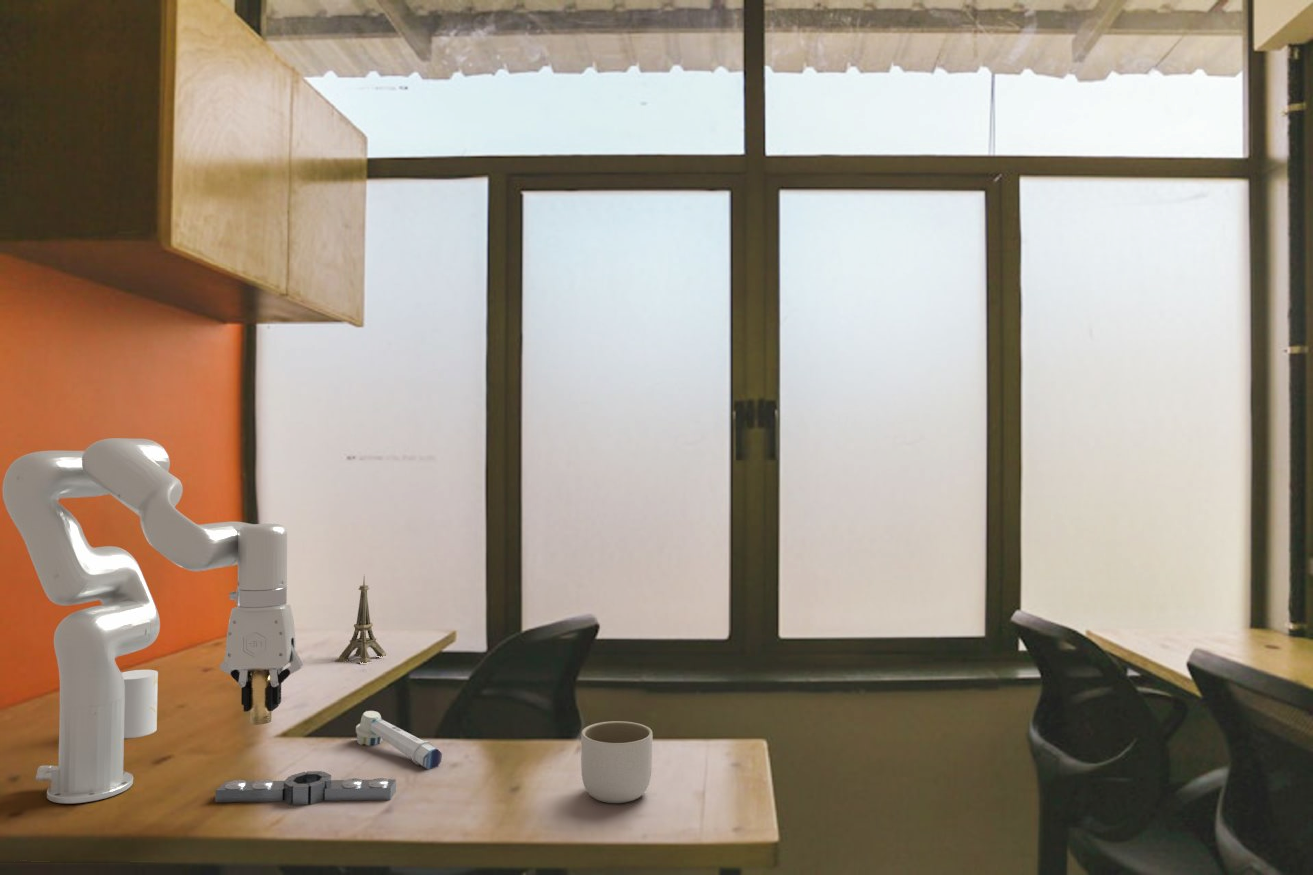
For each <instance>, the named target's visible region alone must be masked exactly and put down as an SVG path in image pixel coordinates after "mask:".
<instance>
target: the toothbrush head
mask: <svg viewBox="0 0 1313 875" xmlns="http://www.w3.org/2000/svg"><path fill="white" fill-rule="evenodd" d="M355 733H356V740H357V743H358V744H359V745H360V746H363V745H365V746H368V747H369V746H377V745H380V744H381V743H382V742H383V741H385V742H386V743H387V744H389V745H391V746H392V747H393V748H395V749H397V750H398V751H399V752H401V753H403V755H405V756H407V757H408V758H410V759H411V761H412V762H413V763H414V764H415V765H417V766H419V765H420V766H421V767H423V768H425V769H427V770H431V769H434V768H437V767H439V765H440V764H441V762H442V760H443V759H442V757H443V752H441V751H440V750H439V749H438V748H436V747H435V746H434V745H433V744H432V743H431V742H430V741H428V740H422V739H421V738H418V737H417V736H415V735H413V734H411V733H409V732H407V731H405V730H404V729H401V728H400V727H397V726H396V725H394V724H391V723H390V722H388V721H386V720H384V719H383V718H382V716H381V714H380V712H378V711H374V710H366V711H365V712H363V713H362V715H361V719H360V723H358V724H357V725H356V726H355ZM381 741H382V742H381Z"/></svg>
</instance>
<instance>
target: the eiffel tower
mask: <svg viewBox="0 0 1313 875" xmlns="http://www.w3.org/2000/svg"><path fill="white" fill-rule="evenodd" d="M365 581H366V580H365V575H363V583H362V585H359V588H358V590H359V591H360V594H359V595H360V596H359V603H358V611H357V615H356V617H357V618H356V623H355V624H353V628H354V631H353V633H352V634H353V635H352V637H351V639H349V644H348V645H347V646H346V647H345V649H344V650H343V651H342V652H341V654H340V655H339V657H338V658H337V659H335V660H334V662H336V663H346V662H348V661H347V660H349V661H350V658H349V657H350V656H351V654H352V653H353V651H355V650H356V651H355V653H354V654H353V655H360V656H359V657H360V659H359V662H361V663H362V662H363V663H367V662H370V661H371V658H370V655H369V652H368V649H369V648H371V649H372V651H373V652H374V653H375V655H376V656H380V657H381V656H382V657H383V656H386V655H387V652H386V651H385V650H384V649H383V648H382V646H381V645H380V644H379V643H378V642H377V637H375V635H374V633H373V630H372V627H373V626H374V624H373V622H371V618H370V610H369V609H370V608H369V600H368V590H370V588H369V585H366V583H365ZM359 632H360V633H359ZM367 634H368V637H367ZM345 661H346V662H345Z"/></svg>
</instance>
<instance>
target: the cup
mask: <svg viewBox="0 0 1313 875" xmlns="http://www.w3.org/2000/svg"><path fill="white" fill-rule="evenodd" d="M121 674H122V676H123V679H124V685H125V707H124V739H133V738H140V737H145V736H148V735H151V734H153V733H155V732H157V726H158V688H159V687H158V685H159V684H158V682H159V680H158V679H159V672H158V671H157V670H153V669H134V670H128V671H124V672H123V671H121Z"/></svg>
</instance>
